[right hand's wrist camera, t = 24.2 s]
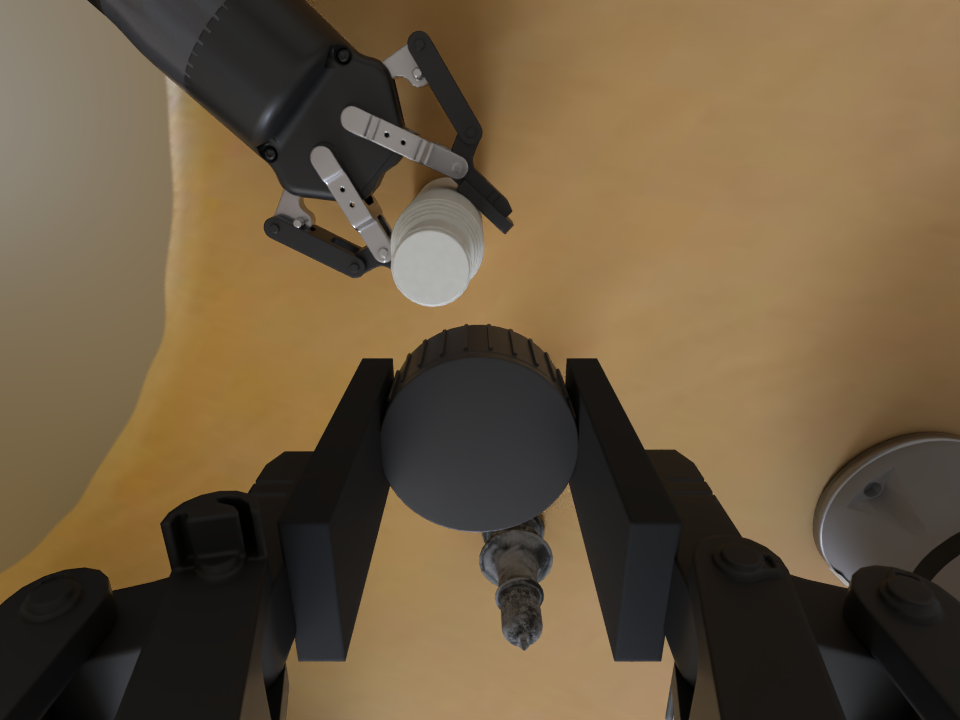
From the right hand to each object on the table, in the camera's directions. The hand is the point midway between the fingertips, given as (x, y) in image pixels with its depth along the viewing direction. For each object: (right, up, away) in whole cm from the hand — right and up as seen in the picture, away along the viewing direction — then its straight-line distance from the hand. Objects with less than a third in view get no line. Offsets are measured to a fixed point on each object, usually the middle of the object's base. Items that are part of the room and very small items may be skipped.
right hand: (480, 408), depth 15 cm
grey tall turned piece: (+3, -13, +34) cm, 37 cm away
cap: (0, -1, -2) cm, 2 cm away
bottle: (-2, +11, +24) cm, 27 cm away
